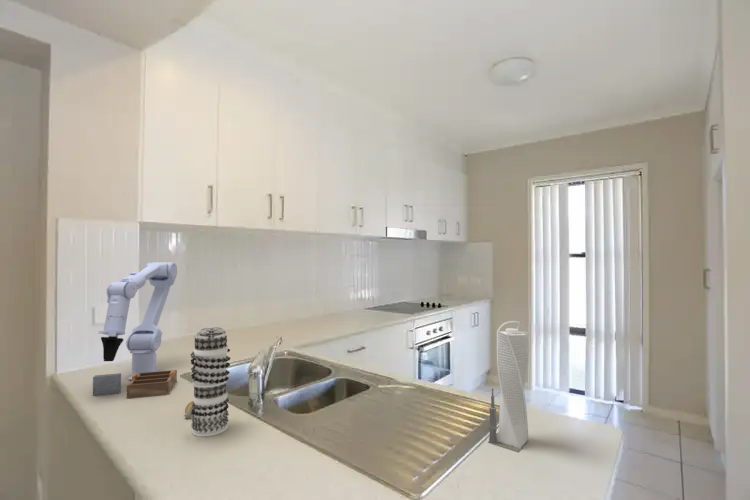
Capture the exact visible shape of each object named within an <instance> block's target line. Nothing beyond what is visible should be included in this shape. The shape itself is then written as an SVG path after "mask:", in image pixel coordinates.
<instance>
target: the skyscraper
mask: <svg viewBox="0 0 750 500" xmlns="http://www.w3.org/2000/svg"><path fill="white" fill-rule="evenodd" d="M513 323H514V324H515V323H516V324H517V326H516V327H515V328H512V327H508V328H505V330H501V329H502V328H503V326H505V325H508V324H513ZM520 326H521V322H520V321H518V320H508V321H505V322H503V323H502V324H501V325H500V326H499V327H498V328H497V329H496V365H497V366H496V370H497V376H498V383H499V387H500V397H499V398H500V401H499V411H498V413H499V414H498V426H497V418H496V414H497V407H496V406H495V396H494V388H491V396H490V406H489V407H488V409H489V426H488V428H489V439H488V441H487V444H491V445H493V446H497V447H499V448H503V449H506V450H510V451H512V452H515V453H519V452H521V450H522V449H523V448H524V447H525V445H526V444H527V443H528V442H529V426H528V425H529V424H528V423H529V422H528V411H527V401H526V394H525V386H526V385H525V384H526V380H527V376H528V370H529V368H528V367H529V358H530V357H529V353H530V352H529V351H530V350H529V349H530V348H529V347H530V346H529V345H530V344H529V343H530V341H529V332H528V331H524V330H523V331H521V330H519V328H520ZM497 429H498V432H497Z"/></svg>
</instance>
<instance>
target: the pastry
mask: <svg viewBox="0 0 750 500" xmlns="http://www.w3.org/2000/svg"><path fill="white" fill-rule="evenodd" d="M192 403H193V400H192V401H190V402H189V403H187V405H186V407H185V409H184V410H185V411H184V412H185V414H184V417H185V418H186V420H192V419H191V418H192V416H193V415H194V414H192V409H194V408H193V407H192Z"/></svg>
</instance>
